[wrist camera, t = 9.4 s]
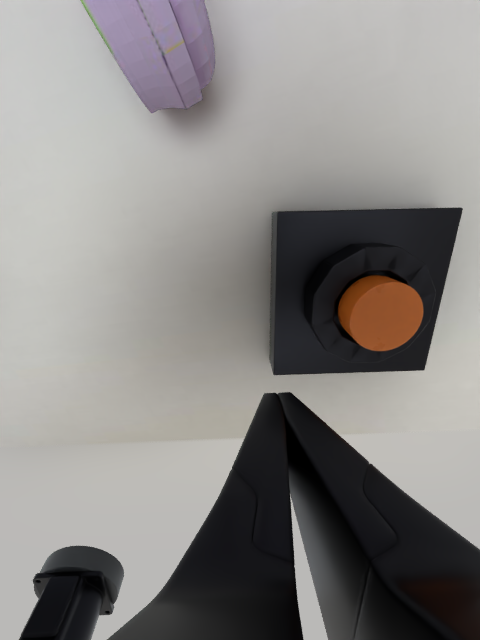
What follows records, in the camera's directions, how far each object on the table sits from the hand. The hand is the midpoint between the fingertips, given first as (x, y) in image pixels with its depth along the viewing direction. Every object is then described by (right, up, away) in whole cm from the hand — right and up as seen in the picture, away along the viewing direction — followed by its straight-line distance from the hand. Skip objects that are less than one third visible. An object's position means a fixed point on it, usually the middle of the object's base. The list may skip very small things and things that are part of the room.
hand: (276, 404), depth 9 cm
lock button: (+6, +3, +7) cm, 9 cm away
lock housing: (+6, +5, +10) cm, 13 cm away
